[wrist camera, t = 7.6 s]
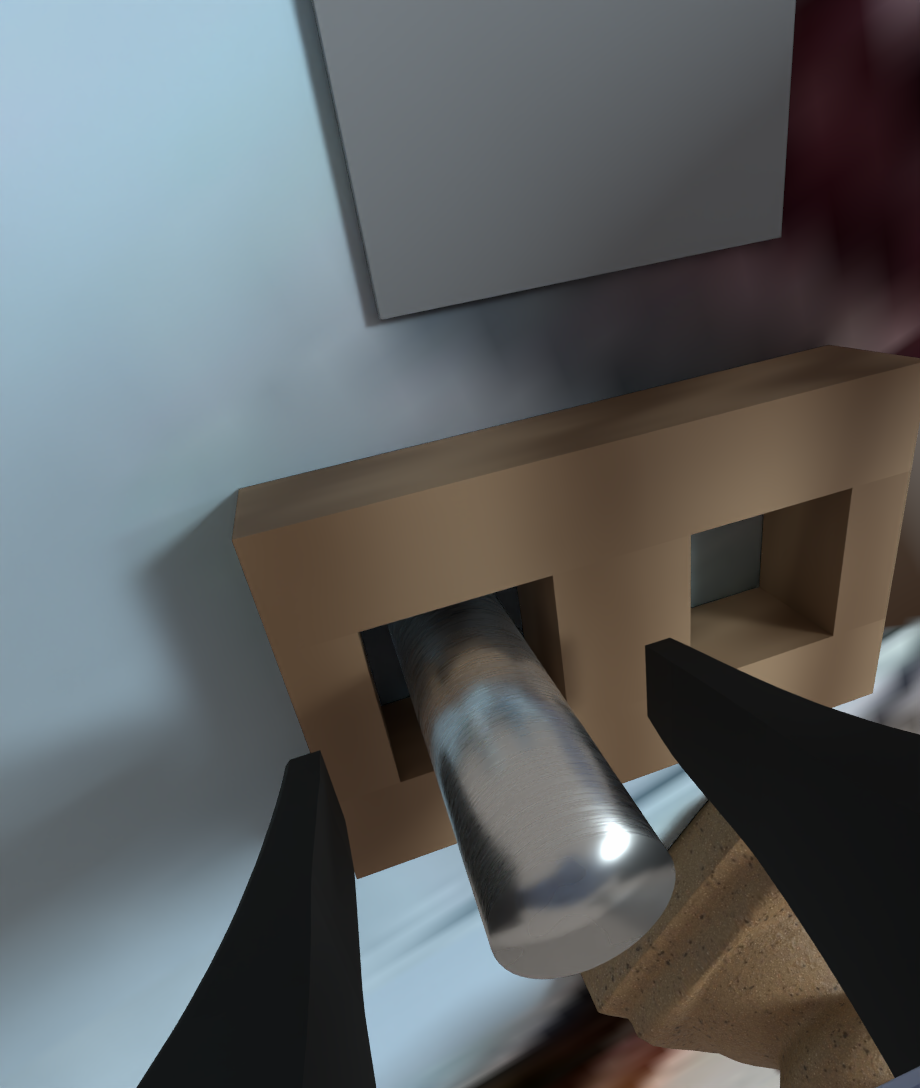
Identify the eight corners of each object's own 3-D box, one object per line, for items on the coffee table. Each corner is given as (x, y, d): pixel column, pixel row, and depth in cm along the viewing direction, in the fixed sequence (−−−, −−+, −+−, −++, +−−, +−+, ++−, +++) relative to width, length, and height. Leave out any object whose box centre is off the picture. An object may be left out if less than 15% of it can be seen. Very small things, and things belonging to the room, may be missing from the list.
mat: (808, -390, 11) (821, -406, 11) (772, 237, 15) (781, 236, 15) (229, -386, 9) (228, -405, 9) (379, 318, 14) (381, 320, 13)
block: (828, 344, 17) (930, 360, 14) (799, 640, 22) (872, 693, 19) (238, 488, 14) (232, 540, 12) (345, 792, 19) (357, 879, 16)
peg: (489, 553, 17) (682, 809, 9) (496, 645, 18) (669, 940, 10) (380, 575, 16) (483, 872, 8) (394, 669, 18) (496, 1003, 10)
